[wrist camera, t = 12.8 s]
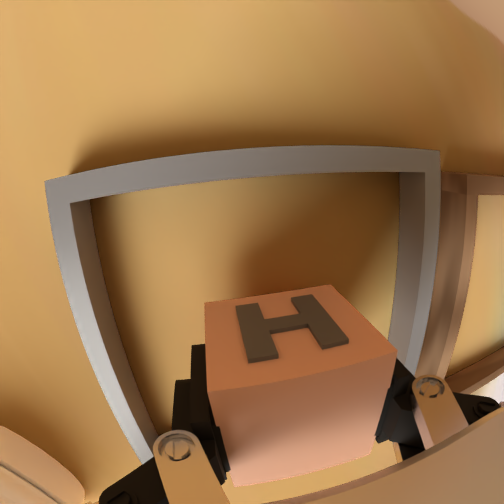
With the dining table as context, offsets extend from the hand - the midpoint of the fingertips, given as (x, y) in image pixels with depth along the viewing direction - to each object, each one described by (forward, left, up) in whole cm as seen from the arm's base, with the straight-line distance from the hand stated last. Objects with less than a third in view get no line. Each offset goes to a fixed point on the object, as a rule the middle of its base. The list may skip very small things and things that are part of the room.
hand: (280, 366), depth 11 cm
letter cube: (0, 0, -1) cm, 1 cm away
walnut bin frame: (-1, -18, -3) cm, 18 cm away
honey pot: (-14, +23, -3) cm, 27 cm away
